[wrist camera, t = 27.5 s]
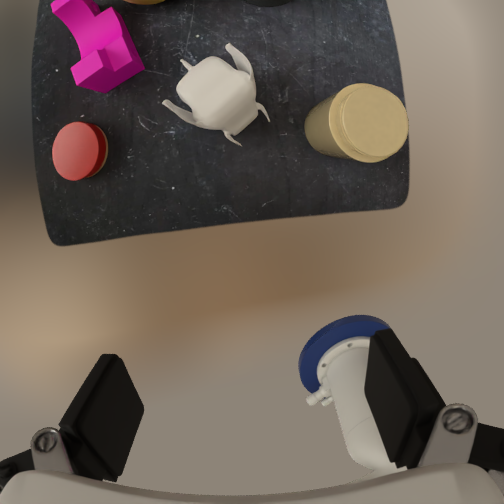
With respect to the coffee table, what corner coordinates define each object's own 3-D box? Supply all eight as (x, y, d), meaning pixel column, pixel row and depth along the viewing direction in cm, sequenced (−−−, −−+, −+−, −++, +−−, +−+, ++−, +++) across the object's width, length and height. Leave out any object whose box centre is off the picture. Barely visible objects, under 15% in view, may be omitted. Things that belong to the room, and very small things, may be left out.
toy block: (145, 68, 31) (122, 54, 24) (105, 93, 32) (76, 85, 25) (112, -5, 27) (90, -25, 20) (77, 19, 27) (50, 4, 20)
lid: (70, 116, 32) (61, 116, 30) (114, 130, 33) (106, 130, 31) (55, 168, 35) (46, 170, 32) (96, 185, 36) (88, 188, 34)
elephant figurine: (226, 161, 36) (219, 165, 27) (161, 96, 33) (136, 83, 24) (285, 110, 33) (295, 99, 25) (218, 45, 30) (209, 18, 22)
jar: (332, 168, 36) (376, 182, 23) (292, 127, 34) (316, 116, 21) (370, 131, 34) (428, 128, 21) (331, 89, 32) (374, 62, 19)
